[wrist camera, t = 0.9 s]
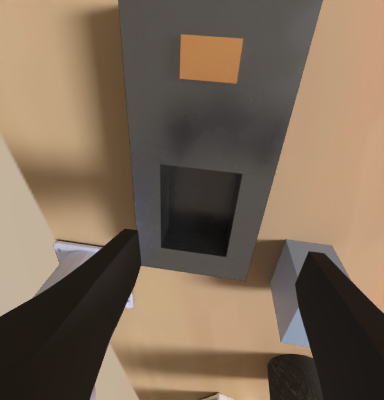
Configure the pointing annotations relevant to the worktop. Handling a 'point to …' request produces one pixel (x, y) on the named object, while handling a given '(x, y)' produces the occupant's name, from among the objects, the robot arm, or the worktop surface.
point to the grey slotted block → (209, 122)
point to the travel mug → (293, 378)
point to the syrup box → (218, 397)
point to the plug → (286, 291)
